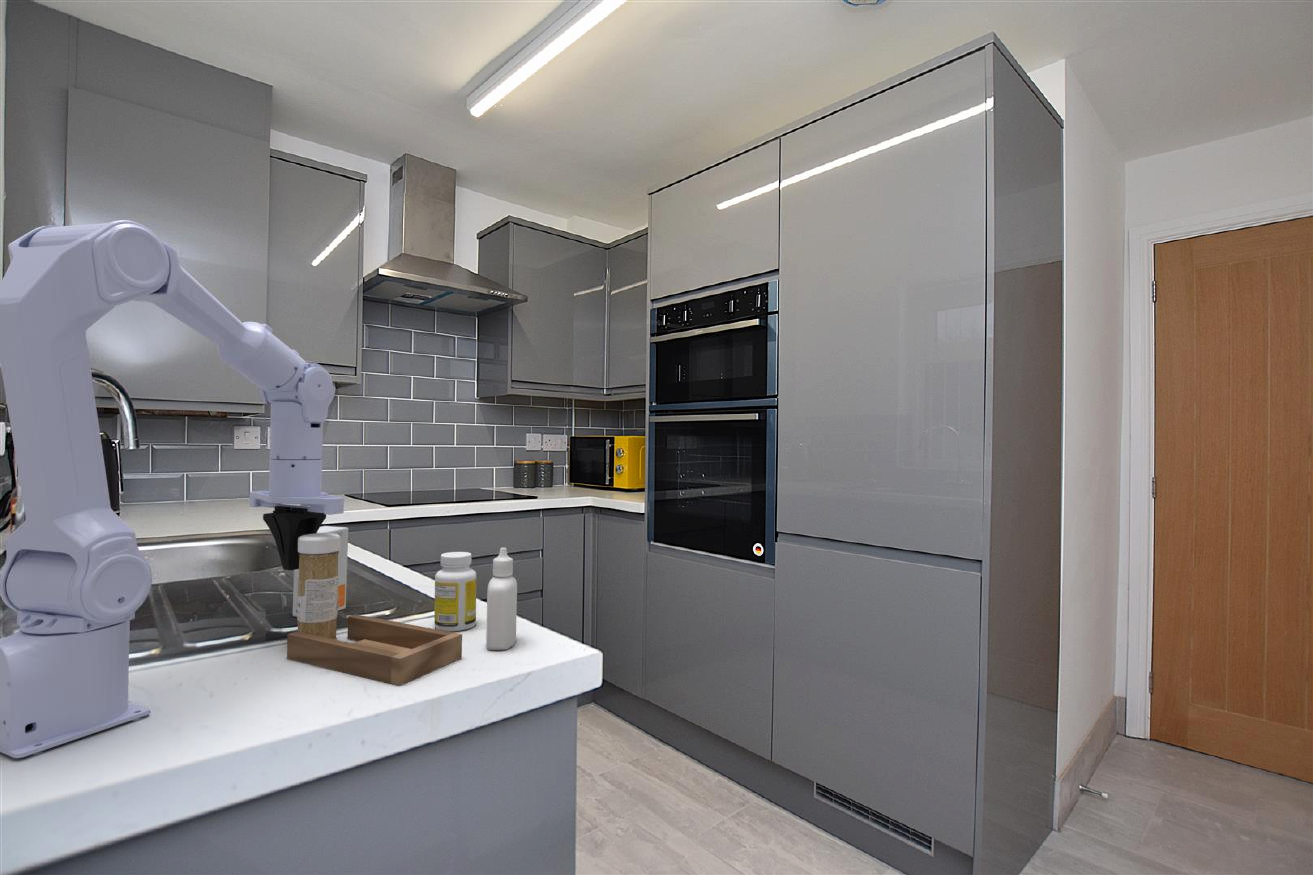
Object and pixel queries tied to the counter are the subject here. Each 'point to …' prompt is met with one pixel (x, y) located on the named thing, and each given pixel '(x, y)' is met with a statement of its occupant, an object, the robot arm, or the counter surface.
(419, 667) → the wooden tray
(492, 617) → the eye dropper bottle
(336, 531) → the skincare box
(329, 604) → the sprinkles bottle
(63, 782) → the counter surface
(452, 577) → the supplement bottle
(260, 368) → the robot arm
